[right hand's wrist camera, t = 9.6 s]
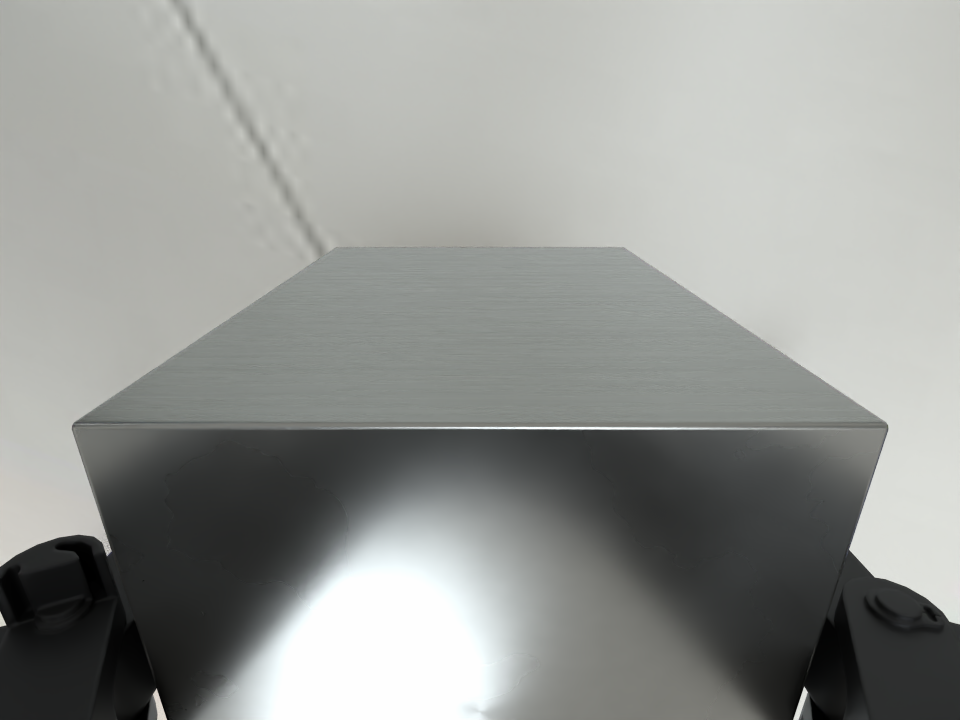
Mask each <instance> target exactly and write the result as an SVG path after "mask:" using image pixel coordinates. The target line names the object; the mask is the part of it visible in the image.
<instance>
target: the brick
mask: <svg viewBox="0 0 960 720" xmlns="http://www.w3.org/2000/svg"><path fill="white" fill-rule="evenodd" d="M72 431H73V434H74V437H75V440H76V443H77V446H78V449H79V452H80V455H81V459H82V462H83V465H84V468H85V471H86V474H87V477H88V480H89V483H90V486H91V489H92V492H93V495H94V498H95V501H96V504H97V507H98V510H99V513H100V516H101V520H102V523H103V526H104V529H105V532H106V535H107V538H108V541H109V544H110V547H111V550H112V553H113V556H114V559H115V562H116V565H117V568H118V571H119V574H120V578H121V581H122V584H123V587H124V590H125V593H126V596H127V599H128V602H129V605H130V608H131V611H132V614H133V617H134V620H135V623H136V626H137V629H138V632H139V635H140V639H141V642H142V645H143V648H144V651H145V654H146V657H147V660H148V663H149V666H150V669H151V672H152V675H153V678H154V681H155V684H156V687H157V690H158V693H159V696H160V700H161V703H162V706H163V709H164V712H165V715H166V718H167V720H793V719H794V715H795V712H796V709H797V706H798V703H799V700H800V697H801V694H802V691H803V688H804V685H805V682H806V679H807V676H808V673H809V670H810V667H811V664H812V661H813V658H814V654H815V651H816V648H817V645H818V642H819V639H820V636H821V633H822V630H823V627H824V624H825V621H826V618H827V615H828V612H829V609H830V606H831V603H832V600H833V597H834V594H835V590H836V587H837V584H838V581H839V578H840V575H841V572H842V569H843V566H844V563H845V560H846V557H847V554H848V551H849V548H850V545H851V542H852V539H853V536H854V533H855V529H856V526H857V523H858V520H859V517H860V514H861V511H862V508H863V505H864V502H865V499H866V496H867V493H868V490H869V487H870V484H871V481H872V478H873V475H874V472H875V469H876V465H877V462H878V459H879V456H880V453H881V450H882V447H883V444H884V441H885V438H886V435H887V432H888V425H887V423H886V422H885V421H883V420H882V419H880V418H879V417H877V416H876V415H874V414H873V413H871V412H870V411H868V410H867V409H865V408H864V407H862V406H861V405H859V404H858V403H856V402H855V401H853V400H852V399H850V398H849V397H847V396H846V395H844V394H843V393H841V392H840V391H838V390H837V389H835V388H834V387H832V386H831V385H829V384H828V383H826V382H825V381H823V380H822V379H820V378H819V377H817V376H816V375H814V374H813V373H811V372H810V371H808V370H807V369H805V368H804V367H802V366H801V365H799V364H798V363H796V362H795V361H793V360H792V359H790V358H789V357H787V356H786V355H784V354H783V353H781V352H780V351H778V350H777V349H775V348H774V347H772V346H771V345H769V344H768V343H766V342H765V341H763V340H762V339H760V338H759V337H757V336H756V335H754V334H753V333H751V332H750V331H748V330H747V329H745V328H744V327H742V326H741V325H739V324H738V323H736V322H735V321H733V320H732V319H730V318H729V317H727V316H726V315H724V314H723V313H721V312H720V311H718V310H717V309H715V308H714V307H712V306H711V305H709V304H708V303H706V302H705V301H703V300H702V299H700V298H699V297H697V296H696V295H694V294H693V293H691V292H690V291H689V290H687V289H686V288H684V287H683V286H681V285H680V284H678V283H677V282H675V281H674V280H672V279H671V278H669V277H668V276H666V275H665V274H663V273H662V272H660V271H659V270H657V269H656V268H654V267H653V266H651V265H650V264H648V263H647V262H645V261H644V260H642V259H641V258H639V257H638V256H636V255H635V254H633V253H632V252H630V251H629V250H627V249H626V248H624V247H336V248H335V249H333V250H332V251H330V252H329V253H327V254H326V255H324V256H323V257H321V258H320V259H318V260H317V261H315V262H314V263H312V264H311V265H309V266H308V267H306V268H305V269H303V270H302V271H300V272H299V273H297V274H296V275H294V276H293V277H291V278H290V279H288V280H287V281H285V282H284V283H282V284H281V285H279V286H278V287H276V288H275V289H273V290H272V291H270V292H269V293H267V294H266V295H264V296H263V297H261V298H260V299H258V300H257V301H255V302H254V303H252V304H251V305H249V306H248V307H246V308H245V309H243V310H242V311H240V312H239V313H237V314H236V315H234V316H233V317H231V318H230V319H228V320H227V321H225V322H224V323H222V324H221V325H219V326H218V327H216V328H215V329H213V330H212V331H210V332H209V333H207V334H206V335H204V336H203V337H201V338H200V339H198V340H197V341H195V342H194V343H192V344H191V345H189V346H188V347H186V348H185V349H183V350H182V351H180V352H179V353H177V354H176V355H174V356H173V357H171V358H170V359H168V360H167V361H165V362H164V363H162V364H161V365H159V366H158V367H156V368H155V369H153V370H152V371H150V372H149V373H147V374H146V375H144V376H143V377H141V378H140V379H138V380H137V381H135V382H134V383H132V384H131V385H129V386H128V387H126V388H125V389H123V390H122V391H120V392H119V393H117V394H116V395H114V396H113V397H111V398H110V399H108V400H107V401H106V402H104V403H103V404H101V405H100V406H98V407H97V408H95V409H94V410H92V411H91V412H89V413H88V414H86V415H85V416H83V417H82V418H80V419H79V420H77V421H76V422H74V423H73V425H72Z"/></svg>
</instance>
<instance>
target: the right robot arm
mask: <svg viewBox="0 0 960 720" xmlns="http://www.w3.org/2000/svg"><path fill="white" fill-rule="evenodd" d="M0 612H1V614H2V616H3V618H4V621H5V623H6V626H2V627H0V720H157V709H156V703H155V700H154V697H153V693H154V692H155V690H156V688H157V687H156V684H155V681H154V678H153V675H152V672H151V669H150V666H149V663H148V660H147V657H146V654H145V651H144V648H143V645H142V642H141V639H140V635H139V632H138V629H137V626H136V623H135V620H134V617H133V614H132V611H131V608H130V605H129V602H128V599H127V596H126V593H125V590H124V587H123V584H122V581H121V578H120V574H119V571H118V568H117V565H116V562H115V559H114V556H113V553H112V552H111V553H110V555H109V556H108V557H107V556H106V553H105V550H104V547H103V544H102V542H100V541H99V540H98V539H96V538H95V537H92V536H84V535H74V536H67V537H60V538H56V539H53V540H50V541H47V542H44V543H41V544H38V545H36V546H34V547H32V548H30V549H28V550H26V551H24V552H22V553H20V554H18V555H16V556H15V557H13V558H12V559H11V560H9V561H8V562H6V563H5V564H4V565H2V566H1V567H0ZM804 686H805V688H806V690H807V691H808V694H807V697H806V700H805V703H804V706H803V709H802V712H801V715H800V718H799V720H960V624H955V623H952V622H949V621H948V619H947V618H946V616H945V615H944V613H943V612H942V611H941V610H939V609H938V608H937V607H936V606H935V605H933V604H932V603H931V602H930V601H929V600H928V599H926V598H925V597H923V596H921V595H919V594H918V593H916V592H914V591H912V590H911V589H909V588H907V587H905V586H902V585H899V584H897V583H894V582H891V581H889V580H886V579H880V578H875V577H874V576H873V575H872V574H871V573H870V572H869V571H868V570H867V569H866V568H865V567H864V566H863V564H862V563H861V562H860V561H859V560H858V559H857V558H856V557H855V556H854V555H853V554H852V553H851V552H850V550H849V551H848V554H847V557H846V560H845V563H844V566H843V569H842V572H841V575H840V578H839V581H838V584H837V587H836V590H835V594H834V597H833V600H832V603H831V606H830V609H829V612H828V615H827V618H826V621H825V624H824V627H823V630H822V633H821V636H820V639H819V642H818V645H817V648H816V651H815V654H814V658H813V661H812V664H811V667H810V670H809V673H808V676H807V679H806V682H805V685H804Z"/></svg>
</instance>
